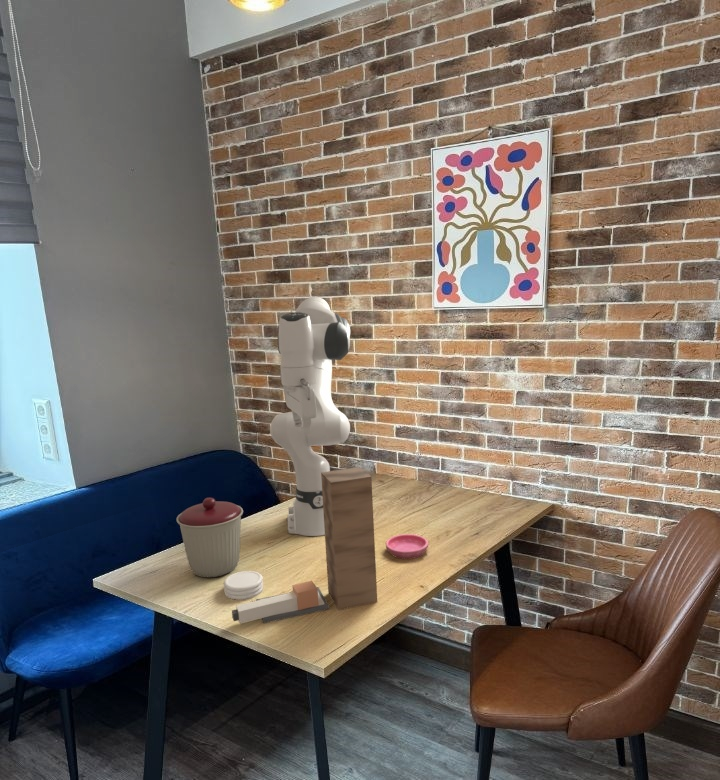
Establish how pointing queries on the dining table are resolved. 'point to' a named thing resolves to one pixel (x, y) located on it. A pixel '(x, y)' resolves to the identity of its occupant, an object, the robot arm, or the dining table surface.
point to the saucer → (407, 545)
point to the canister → (211, 537)
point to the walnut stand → (349, 537)
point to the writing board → (322, 606)
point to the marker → (278, 603)
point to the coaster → (243, 585)
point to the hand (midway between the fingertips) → (302, 429)
